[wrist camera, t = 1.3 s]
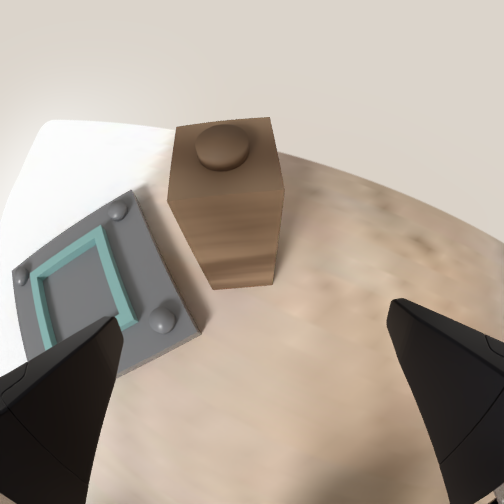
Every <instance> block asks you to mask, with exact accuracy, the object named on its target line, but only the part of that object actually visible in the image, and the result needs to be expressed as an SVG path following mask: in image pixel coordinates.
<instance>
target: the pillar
mask: <svg viewBox="0 0 504 504" xmlns="http://www.w3.org/2000/svg"><path fill="white" fill-rule="evenodd" d="M284 191H285V189H284V184H283V179H282V173H281V168H280V163H279V158H278V154H277V149H276V144H275V139H274V134H273V130H272V125H271V121H270V117H264V118H249V119H236V120H227V121H216V122H208V123H200V124H193V125H186V126H180V127H176V133H175V140H174V147H173V154H172V162H171V170H170V178H169V187H168V197H167V202H168V204H169V206H170V208H171V210H172V212H173V214H174V216H175V218H176V220H177V222H178V224H179V226H180V228H181V230H182V232H183V234H184V236H185V238H186V240H187V242H188V244H189V246H190V248H191V250H192V252H193V254H194V256H195V258H196V260H197V261H198V263H199V265H200V267H201V269H202V271H203V273H204V275H205V276H206V278H207V280H208V282H209V284H210V286H211V287H212V289H213V290H219V289H232V288H244V287H255V286H266V285H272V283H273V276H274V269H275V262H276V254H277V247H278V239H279V231H280V224H281V216H282V208H283V200H284Z"/></svg>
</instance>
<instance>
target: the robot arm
mask: <svg viewBox="0 0 504 504" xmlns="http://www.w3.org/2000/svg"><path fill="white" fill-rule="evenodd" d="M387 328H388V331H389V334H390V337H391V340H392V342H393V345H394V348H395V351H396V354H397V357H398V360H399V363H400V365H401V368H402V370H403V372H404V374H405V377H406V379H407V381H408V384H409V386H410V388H411V391H412V393H413V395H414V398H415V400H416V403H417V405H418V408H419V410H420V413H421V415H422V418H423V420H424V423H425V426H426V428H427V431H428V434H429V436H430V439H431V442H432V445H433V448H434V451H435V454H436V457H437V460H438V463H439V466H440V470H441V473H442V476H443V479H444V483H445V486H446V490H447V493H448V497H449V501H450V504H474V503H476V502H477V501H479V500H480V499H482V498H483V497H485V496H486V495H488V494H489V493H491V492H492V491H493V492H494V494H495V497H496V498H495V499H493V500H492V501H491V502H489V503H488V504H504V342H501V341H499V340H497V339H494V338H492V337H490V336H488V335H484V334H483V333H481V332H479V331H477V330H475V329H472V328H470V327H468V326H466V325H463V324H461V323H459V322H457V321H454V320H452V319H450V318H448V317H445V316H443V315H441V314H439V313H436V312H434V311H432V310H430V309H427V308H425V307H423V306H420V305H418V304H416V303H414V302H411V301H409V300H407V299H404V298H399V299H394V300H392V301H391V303H390V308H389V312H388V317H387ZM123 343H124V338H123V334H122V331H121V329H120V326H119V323H118V321H117V319H116V318H115V317H114V316H104V317H102V318H100V319H98V320H97V321H95V322H93V323H92V324H90V325H88V326H86V327H85V328H83V329H81V330H80V331H78V332H76V333H75V334H73V335H71V336H69V337H68V338H66V339H64V340H63V341H61V342H59V343H58V344H56V345H54V346H53V347H51V348H49V349H48V350H46V351H44V352H43V353H41V354H39V355H38V356H36V357H34V358H33V359H31V360H29V362H26V363H24V364H23V365H21V366H19V367H18V368H16V369H14V370H13V371H11V372H9V373H7V374H5V375H4V376H2V377H0V504H85V503H86V497H87V492H88V485H89V480H90V475H91V470H92V466H93V461H94V457H95V452H96V448H97V444H98V440H99V436H100V432H101V428H102V425H103V421H104V417H105V414H106V410H107V407H108V403H109V400H110V397H111V393H112V390H113V387H114V383H115V380H116V376H117V371H118V366H119V362H120V357H121V352H122V348H123Z"/></svg>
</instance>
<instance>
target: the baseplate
mask: <svg viewBox="0 0 504 504" xmlns="http://www.w3.org/2000/svg"><path fill="white" fill-rule="evenodd" d="M12 277H13V287H14V295H15V303H16V309H17V315H18V321H19V326H20V331H21V336H22V340H23V345H24V349H25V353H26V357H27V361H28V362H29V360H31V359H33V358H34V357H36V356H38V355H39V354H41V353H43V352H44V351H46V350H48V349H49V348H51V347H53V346H54V345H56V344H58V343H59V342H61V341H63V340H64V339H66V338H68V337H69V336H71V335H73V334H75V333H76V332H78V331H80V330H81V329H83V328H85V327H86V326H88V325H90V324H92V323H93V322H95V321H97V320H98V319H100V318H102V317H104V316H114V317H115V318H116V319H117V321H118V323H119V326H120V329H121V331H122V334H123V338H124V343H123V348H122V352H121V357H120V362H119V366H118V371H117V376H116V378H118V377H120V376H122V375H124V374H126V373H128V372H130V371H132V370H134V369H136V368H138V367H140V366H142V365H144V364H146V363H148V362H150V361H152V360H154V359H156V358H158V357H160V356H162V355H164V354H165V353H167V352H169V351H171V350H173V349H175V348H177V347H179V346H181V345H183V344H184V343H186V342H188V341H190V340H192V339H194V338H195V337H197V336H199V335H201V333H200V331H199V329H198V328H197V326H196V324H195V322H194V320H193V318H192V316H191V314H190V313H189V311H188V309H187V307H186V305H185V303H184V301H183V299H182V297H181V295H180V293H179V291H178V289H177V287H176V285H175V283H174V281H173V279H172V277H171V275H170V273H169V271H168V269H167V267H166V264H165V262H164V260H163V258H162V256H161V254H160V252H159V249H158V247H157V245H156V243H155V240H154V238H153V236H152V234H151V231H150V229H149V227H148V225H147V222H146V220H145V218H144V215H143V213H142V210H141V208H140V206H139V203H138V201H137V198H136V196H135V195H134V193H133V192H132V190H130V191H128V192H126V193H125V194H123V195H121V196H119V197H118V198H116V199H114V200H113V201H111V202H109V203H108V204H106V205H104V206H103V207H101V208H100V209H98V210H96V211H95V212H93V213H92V214H90V215H88V216H87V217H85V218H84V219H82V220H81V221H79V222H78V223H76V224H75V225H73V226H72V227H70V228H69V229H67V230H66V231H64V232H63V233H61V234H60V235H59V236H57V237H56V238H54V239H53V240H52V241H50V242H49V243H47V244H46V245H45V246H43V247H42V248H41V249H39V250H38V251H37V252H35V253H34V254H33V255H31V256H30V257H29V258H27V259H26V260H25V261H24V262H22V263H21V264H20V265H19V266H17V267H16V268H15V269H14V270H13V271H12Z"/></svg>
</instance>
